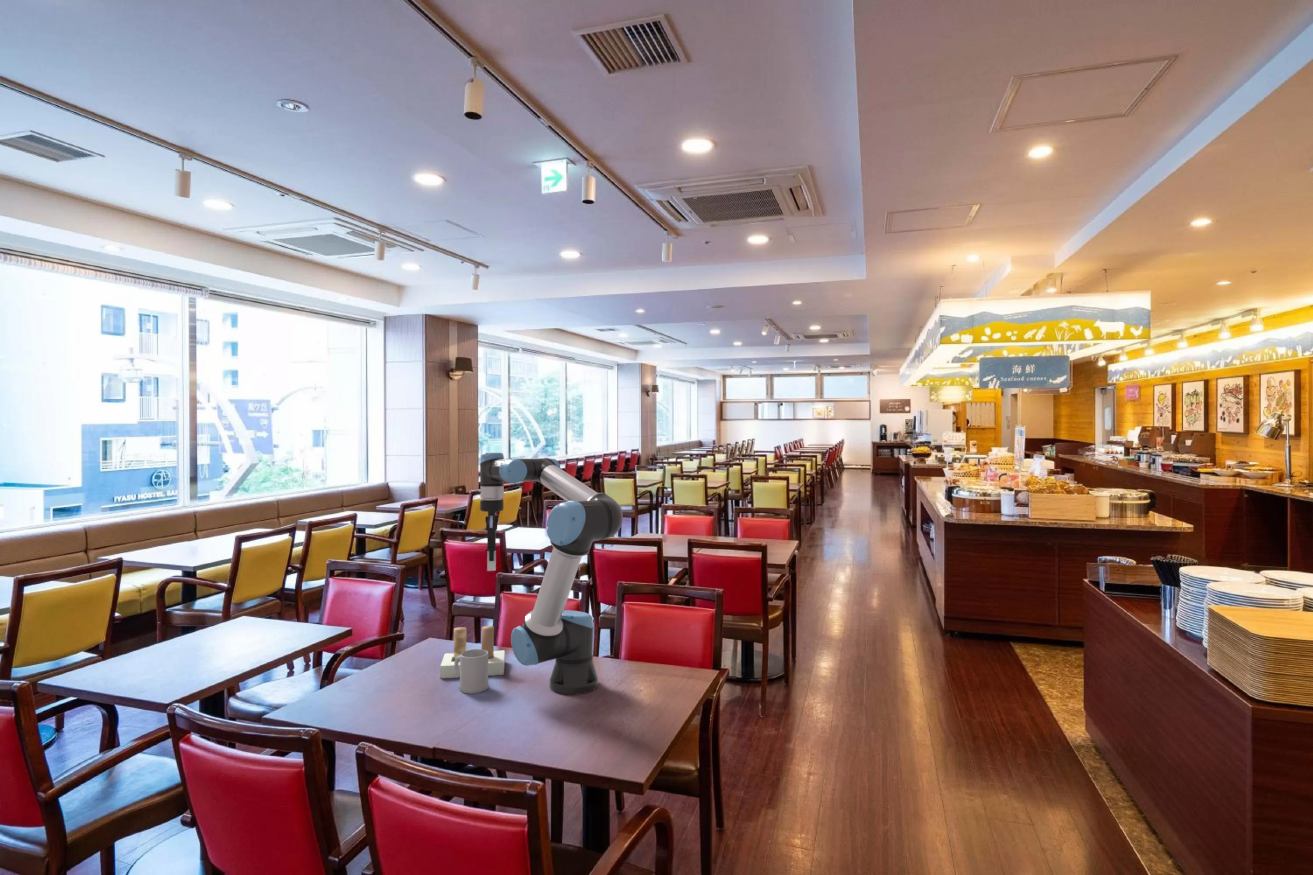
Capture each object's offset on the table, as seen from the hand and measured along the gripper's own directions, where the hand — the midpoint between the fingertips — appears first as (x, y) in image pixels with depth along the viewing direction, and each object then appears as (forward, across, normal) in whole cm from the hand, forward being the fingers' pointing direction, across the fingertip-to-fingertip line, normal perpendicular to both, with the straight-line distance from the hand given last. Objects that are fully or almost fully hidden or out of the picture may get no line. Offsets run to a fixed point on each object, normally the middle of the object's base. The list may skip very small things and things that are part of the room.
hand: (491, 570), depth 220 cm
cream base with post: (+34, -5, -6) cm, 35 cm away
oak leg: (+34, -5, -10) cm, 36 cm away
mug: (+35, +11, -6) cm, 37 cm away
